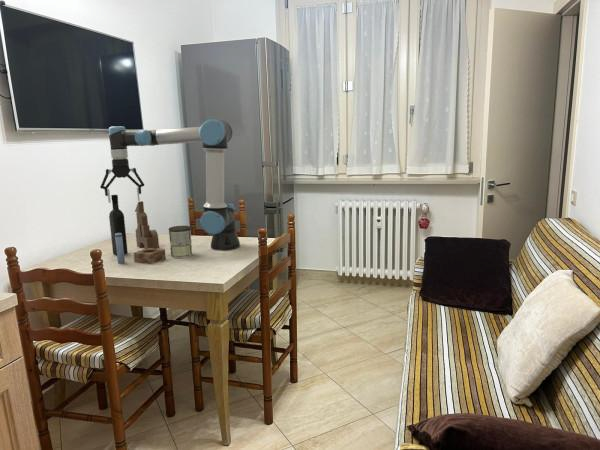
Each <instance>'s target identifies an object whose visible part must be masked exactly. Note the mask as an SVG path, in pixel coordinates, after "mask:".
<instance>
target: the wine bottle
mask: <svg viewBox="0 0 600 450" xmlns="http://www.w3.org/2000/svg"><path fill="white" fill-rule="evenodd" d="M110 198H111V202H112V203H111V205H112V209H111V211H110V212H109V214H108V215H109V216H108V219H109V227H110V228H109V229H110V236H111V245H112V246H111V247H112V254H113V255H116V256H117V249H116V240H115V234H116V233H122V240H123V249H124V255H125V254H126V253H127V254H128V253H129V252H128V251H129V250H128V242H127V234H126V233H127V231H126V221H125V214H124V213H123V211H122V210H121V209H120V207H119V195H118V194H112V195H111V194H110ZM127 254H126V255H127Z"/></svg>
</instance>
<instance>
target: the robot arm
mask: <svg viewBox="0 0 600 450" xmlns="http://www.w3.org/2000/svg"><path fill="white" fill-rule="evenodd" d="M108 137H109V138H108V139H109V145H110V147H109V148H110V156H111V166H112V168H111V169H109V168H106V169H105V175H104V178H103V179H102V182H101V185H100V189H103V190H104V195H105V197H107V201H108V204H109V203H110V204H111V202H112V200H111V192H110V189H109V187H110V186H111V184H112V183H113V182H114V181H115V180H116V178H118V179H121V178H128V179H129V180H131V182H132V183H133V184H135V185H136V194H137V202H140V200H141V199H140V195H141V194H142V188H143V187H145V183H144V181H143V180H142V177H140V175H139V174H138V172H137V169H136V167H133V168H130V164H129V159H128V157H129V154H128V147H145V146H147V147H148V146H161V145H177V144H191V143H192V144H194V143H202V150H203V151H204V152H205V190H206V193H205V195H206V196H205V197H206V198H205V199H206V200H205V203H203V205H202V215H201V216H200V219H199V223H200V226H201V229H202V230H203V231H204V232H205V233H207V234H209V235H212V237H211V241H210V248H211V249H212V250H216V251H228V250H234V249H238V248H240V246H241V245H240V244H241V241H240V239H239V236H238V234H237V232H236V213H235V211H236V208H235V205H234V204H233V203H226V202H225V153H226V151H227V150H228V144H229V142H230V141H231V140H232V138H233V127H232V126H231V125H230V123H228V122H227V121H225V120H219V119H215V118H214V119H207V120H206V121H204V122H203V123H202V124H201V125H200V126H193V127H192V126H191V127H180V128H167V129H153V130H152V129H151V130H148V129H135V130H134V129H133V130H128V129H127V130H126V127H125V126H120V125H119V126H116V125H115V126H110V127H109V128H108ZM130 172H132V173H133V174H134V175H135V178H137V180H135V178H133V177H132V176H131V174H130ZM111 173H112V174H113V176H112V177H111V179H110V180H109V181H108V183H107V179H108V177H109V174H110V175H111ZM106 183H107V184H106ZM105 184H106V185H105Z"/></svg>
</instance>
